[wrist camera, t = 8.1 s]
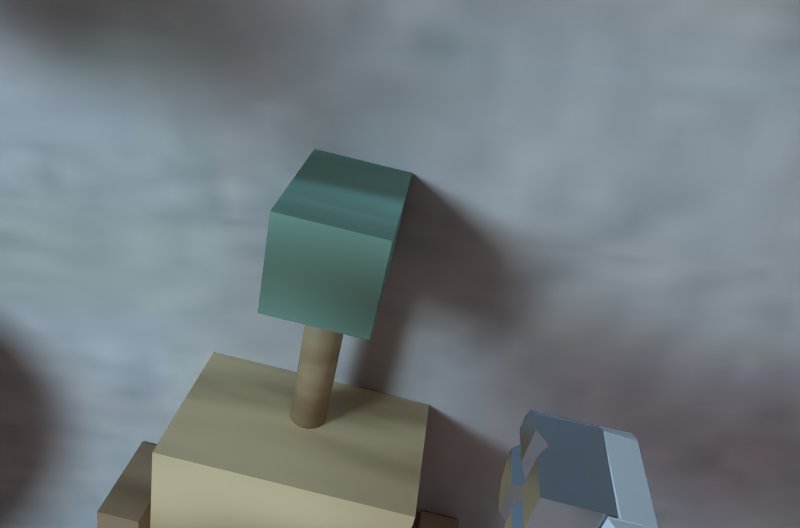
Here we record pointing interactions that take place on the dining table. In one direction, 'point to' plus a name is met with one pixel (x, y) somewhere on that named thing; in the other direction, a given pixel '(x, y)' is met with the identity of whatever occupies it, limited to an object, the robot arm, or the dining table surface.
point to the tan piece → (131, 498)
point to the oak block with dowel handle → (303, 380)
